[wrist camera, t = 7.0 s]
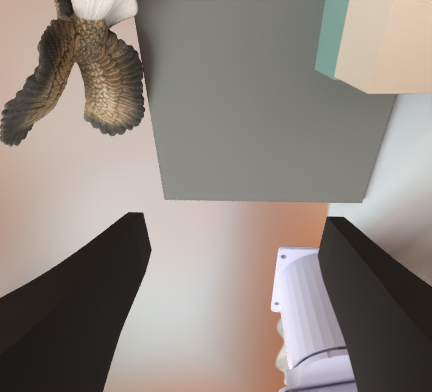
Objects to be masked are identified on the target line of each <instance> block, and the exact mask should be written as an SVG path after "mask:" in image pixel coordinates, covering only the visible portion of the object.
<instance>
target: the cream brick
mask: <svg viewBox="0 0 432 392" xmlns="http://www.w3.org/2000/svg"><path fill="white" fill-rule="evenodd" d="M334 77H336V78H338V79H340V80H342V81H344V82H345V83H347V84H349V85H351V86H353V87H355V88H357V89H359V90H361V91H363V92H365V93H367V94H412V93H432V0H349V4H348V9H347V14H346V19H345V24H344V29H343V34H342V39H341V44H340V49H339V54H338V59H337V64H336V69H335V74H334Z"/></svg>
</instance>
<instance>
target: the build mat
mask: <svg viewBox="0 0 432 392" xmlns="http://www.w3.org/2000/svg"><path fill="white" fill-rule="evenodd" d="M136 1H137V4H138V12H137V14H136V15H135V16H134V17H135V23H136V29H137V35H138V41H139V47H140V53H141V60H142V66H143V70H144V71H143V72H144V78H145V84H146V90H147V96H148V101H149V107H150V114H151V120H152V126H153V132H154V138H155V144H156V150H157V156H158V162H159V168H160V174H161V180H162V186H163V192H164V198H165V200H213V201H214V200H215V201H270V202H273V201H274V202H328V203H362V201H363V198H364V195H365V192H366V189H367V185H368V182H369V179H370V176H371V173H372V170H373V167H374V164H375V160H376V157H377V154H378V151H379V148H380V145H381V142H382V139H383V136H384V132H385V129H386V126H387V123H388V120H389V117H390V114H391V111H392V107H393V104H394V101H395V98H396V95H397V94H367V93H365V92H363V91H361V90H359V89H357V88H355V87H353V86H351V85H349V84H347V83H345V82H344V81H342V80H333V79H332V78H330V77H328V76H326V75H324V74H322V73H320V72H319V71H317V70H315V64H316V57H317V51H318V44H319V38H320V31H321V25H322V18H323V12H324V5H325V0H136Z"/></svg>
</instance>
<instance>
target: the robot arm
mask: <svg viewBox="0 0 432 392" xmlns="http://www.w3.org/2000/svg"><path fill="white" fill-rule="evenodd" d="M150 254H151V245H150V241H149V237H148V232H147V228H146V223H145V219H144V214H143V213H137V212H136V213H135V212H134V213H133V212H128V213H127V214H125V215H124V216H123V217H121V218H120V219H119V220H118V221H116V222H115V223H114V224H112V225H111V226H110V227H109V228H107V229H106V230H105V231H104V232H102V233H101V234H100V235H98V236H97V237H96V238H94V239H93V240H92V241H90V242H89V243H88V244H87V245H85V246H84V247H82V248H81V249H79V250H78V251H77V252H75V253H74V254H72V255H71V256H70V257H68V258H67V259H65V260H64V261H63V262H61V263H60V264H58V265H57V266H55V267H53V268H52V269H51V270H49V271H47V272H46V273H44V274H42V275H41V276H39V277H37V278H36V279H34V280H32V281H31V282H29V283H27V284H25V285H24V286H22V287H20V288H18V289H16V290H14V291H13V292H11V293H9V294H7V295H5V296H3V297H1V298H0V392H103V390H104V386H105V383H106V379H107V375H108V372H109V369H110V365H111V362H112V359H113V355H114V352H115V349H116V346H117V342H118V339H119V336H120V333H121V330H122V328H123V325H124V323H125V320H126V318H127V316H128V313H129V311H130V308H131V306H132V304H133V301H134V299H135V297H136V294H137V292H138V289H139V287H140V285H141V282H142V279H143V277H144V275H145V272H146V269H147V265H148V262H149V258H150ZM282 255H284V256H282ZM271 310H272V311H274V312H281V317H282V324H283V331H284V338H285V346H286V353H287V360H288V365H289V369H290V370H286V371H285V376H286V384H287V387H283V388H281V389H280V390H279V391H278V392H432V287H431V286H430V285H429V284H427V283H426V282H424V281H423V280H421V279H420V278H419V277H417V276H416V275H415V274H413V273H412V272H411V271H409V270H408V269H407V268H405V267H404V266H403V265H401V264H400V263H399V262H397V261H396V260H395V259H394V258H392V257H391V256H390V255H389V254H387V253H386V252H385V251H384V250H382V249H381V248H380V247H379V246H378V245H376V244H375V243H374V242H373V241H372V240H371V239H369V238H368V237H367V236H366V235H365V234H364V233H362V232H361V231H360V230H359V229H358V228H357V227H355V226H354V225H353V224H352V223H351V222H349V221H348V220H347V219H346V218H344V217H327V219H326V223H325V227H324V231H323V235H322V239H321V243H320V247H295V246H282V247H280V248H279V250H278V256H277V264H276V272H275V279H274V287H273V295H272V303H271Z"/></svg>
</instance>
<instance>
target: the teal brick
mask: <svg viewBox="0 0 432 392" xmlns="http://www.w3.org/2000/svg"><path fill="white" fill-rule="evenodd" d="M348 4H349V0H325V5H324V12H323V18H322V25H321V31H320V38H319V44H318V51H317V57H316V64H315V70H317V71H319V72H320V73H322V74H324V75H326V76H328V77H330V78H332V79H333V80H340V79H338V78H336V77H334V74H335V69H336V64H337V59H338V54H339V49H340V44H341V39H342V34H343V29H344V24H345V19H346V14H347V9H348Z"/></svg>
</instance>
